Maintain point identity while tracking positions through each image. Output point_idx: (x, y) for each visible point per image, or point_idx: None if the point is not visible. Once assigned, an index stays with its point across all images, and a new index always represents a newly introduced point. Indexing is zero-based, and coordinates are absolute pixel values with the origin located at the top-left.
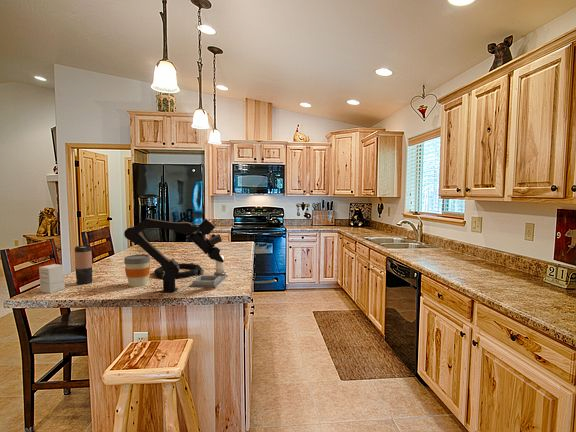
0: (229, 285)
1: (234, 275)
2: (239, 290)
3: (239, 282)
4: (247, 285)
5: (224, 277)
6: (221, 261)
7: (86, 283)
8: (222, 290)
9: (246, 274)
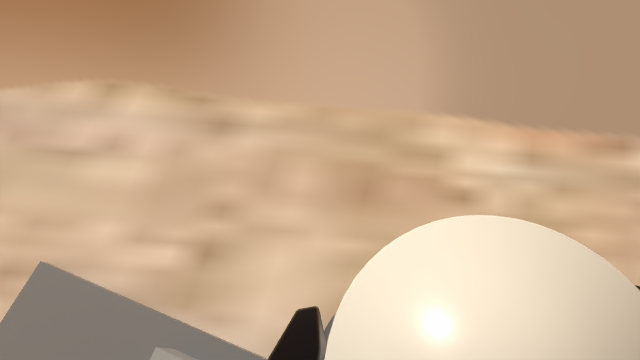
0: None
1: (55, 196)
2: (566, 190)
3: (309, 171)
4: (419, 117)
5: (114, 301)
6: None
7: None
8: None
9: (77, 97)
